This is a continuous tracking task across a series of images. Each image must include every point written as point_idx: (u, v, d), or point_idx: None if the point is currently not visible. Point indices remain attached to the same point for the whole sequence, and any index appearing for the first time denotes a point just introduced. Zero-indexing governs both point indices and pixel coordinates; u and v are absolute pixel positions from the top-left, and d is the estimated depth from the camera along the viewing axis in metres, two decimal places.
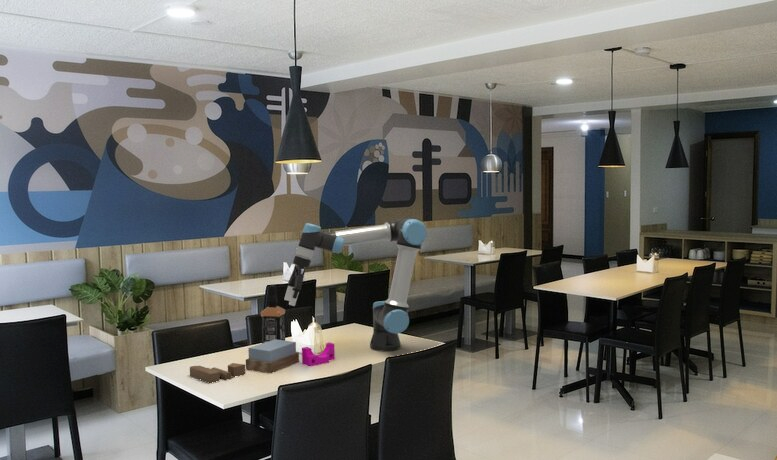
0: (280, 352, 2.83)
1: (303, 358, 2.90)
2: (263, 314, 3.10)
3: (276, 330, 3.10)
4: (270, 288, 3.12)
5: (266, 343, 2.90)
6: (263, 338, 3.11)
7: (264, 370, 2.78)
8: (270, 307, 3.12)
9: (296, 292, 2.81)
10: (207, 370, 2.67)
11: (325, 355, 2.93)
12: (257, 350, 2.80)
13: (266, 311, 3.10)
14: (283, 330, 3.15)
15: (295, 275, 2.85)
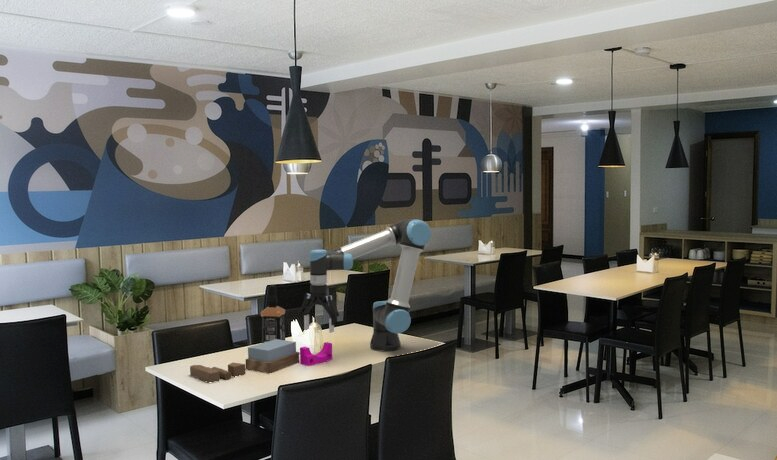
0: (279, 351, 2.83)
1: (301, 357, 2.90)
2: (263, 314, 3.10)
3: (276, 330, 3.10)
4: (270, 288, 3.12)
5: (266, 343, 2.91)
6: (263, 338, 3.11)
7: (264, 370, 2.77)
8: (270, 307, 3.12)
9: (334, 319, 2.87)
10: (207, 369, 2.68)
11: (323, 355, 2.93)
12: (256, 349, 2.81)
13: (266, 311, 3.10)
14: (283, 330, 3.15)
15: (323, 304, 2.88)
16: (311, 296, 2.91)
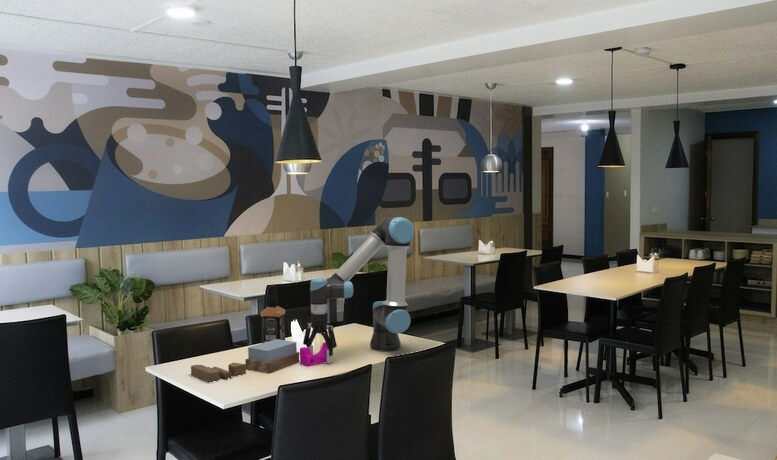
0: (279, 352, 2.83)
1: (301, 358, 2.89)
2: (263, 314, 3.10)
3: (276, 330, 3.10)
4: (270, 288, 3.12)
5: (267, 343, 2.91)
6: (263, 338, 3.11)
7: (263, 370, 2.77)
8: (270, 307, 3.12)
9: (332, 350, 2.89)
10: (207, 369, 2.68)
11: (323, 355, 2.93)
12: (256, 350, 2.81)
13: (266, 311, 3.10)
14: (283, 330, 3.15)
15: (323, 333, 2.89)
16: (312, 325, 2.92)
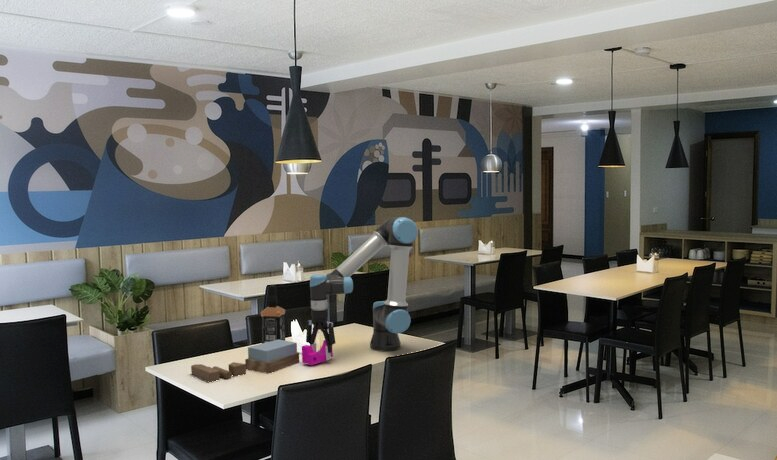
0: (278, 352, 2.82)
1: (303, 356, 2.88)
2: (263, 314, 3.10)
3: (276, 330, 3.10)
4: (270, 288, 3.12)
5: (267, 343, 2.91)
6: (263, 338, 3.11)
7: (263, 370, 2.78)
8: (270, 307, 3.12)
9: (330, 346, 2.90)
10: (207, 369, 2.69)
11: (324, 352, 2.92)
12: (255, 350, 2.81)
13: (266, 311, 3.10)
14: (283, 330, 3.15)
15: (323, 330, 2.89)
16: (312, 321, 2.92)
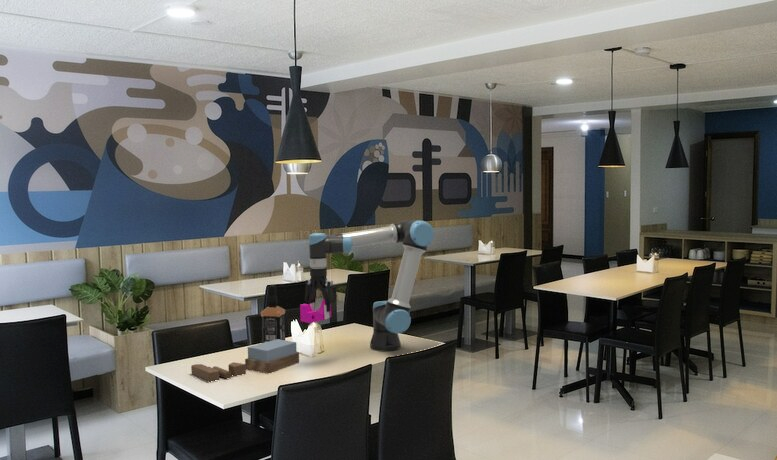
0: (278, 352, 2.82)
1: (301, 315, 2.86)
2: (263, 314, 3.10)
3: (276, 330, 3.10)
4: (270, 288, 3.12)
5: (267, 343, 2.91)
6: (263, 338, 3.11)
7: (263, 370, 2.78)
8: (270, 307, 3.12)
9: (329, 305, 2.88)
10: (207, 369, 2.69)
11: (323, 312, 2.91)
12: (255, 349, 2.81)
13: (266, 311, 3.10)
14: (283, 330, 3.15)
15: (322, 288, 2.88)
16: (311, 280, 2.91)
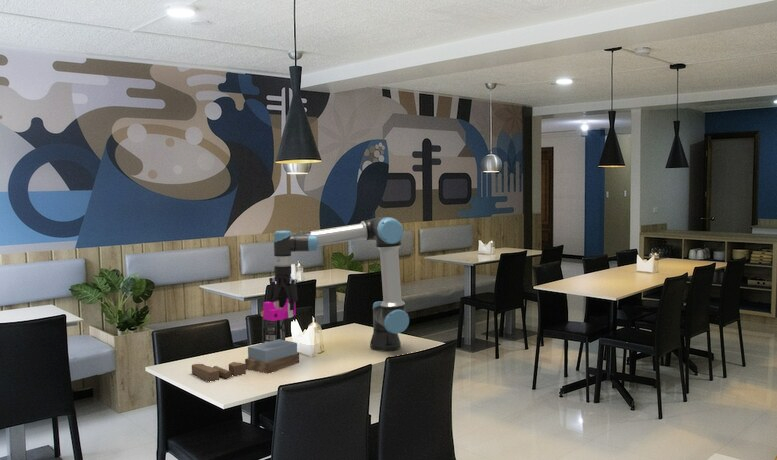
0: (278, 352, 2.82)
1: (264, 312, 2.82)
2: None
3: (276, 330, 3.10)
4: None
5: (268, 343, 2.91)
6: (263, 338, 3.11)
7: (263, 370, 2.78)
8: None
9: (293, 304, 2.85)
10: (207, 368, 2.69)
11: (287, 310, 2.87)
12: (255, 349, 2.81)
13: None
14: (283, 330, 3.15)
15: (285, 286, 2.84)
16: (275, 278, 2.87)
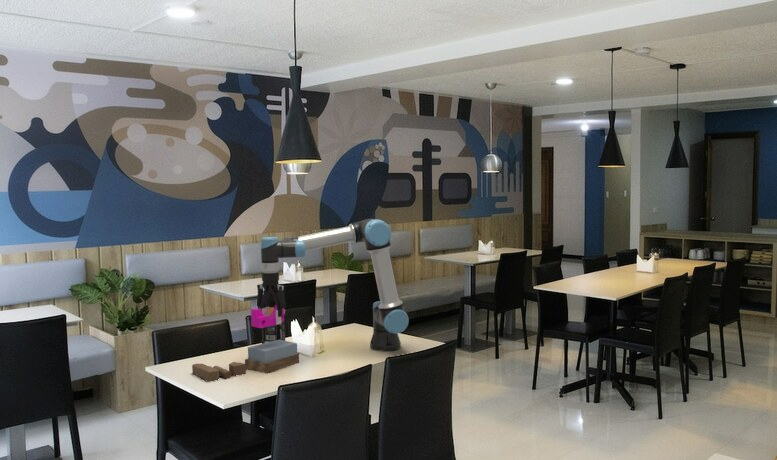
0: (278, 353, 2.82)
1: (252, 319, 2.82)
2: None
3: (276, 330, 3.10)
4: None
5: (268, 343, 2.91)
6: (263, 338, 3.11)
7: (262, 370, 2.78)
8: (270, 307, 3.12)
9: (281, 310, 2.84)
10: (207, 368, 2.69)
11: (275, 316, 2.86)
12: (255, 350, 2.81)
13: None
14: (283, 330, 3.15)
15: (273, 293, 2.83)
16: (263, 284, 2.86)
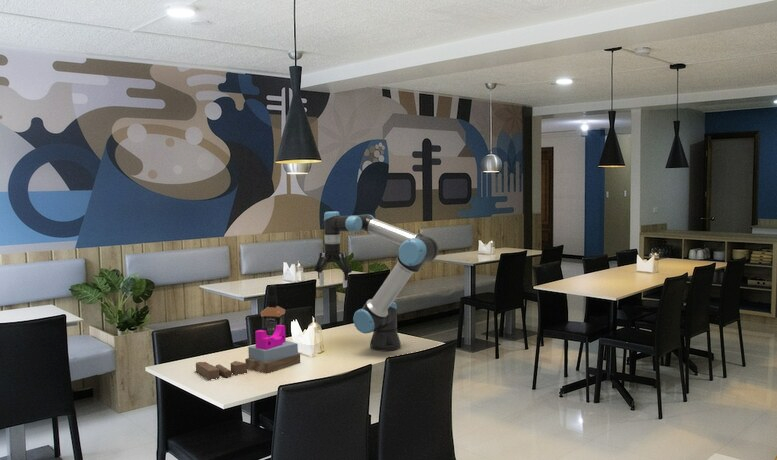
0: (277, 352, 2.82)
1: (257, 341, 2.82)
2: (263, 314, 3.10)
3: None
4: (270, 288, 3.12)
5: None
6: None
7: (262, 370, 2.78)
8: (270, 307, 3.12)
9: (347, 274, 3.11)
10: (208, 367, 2.72)
11: (278, 337, 2.88)
12: (255, 349, 2.81)
13: (266, 311, 3.10)
14: None
15: (337, 261, 3.11)
16: (325, 254, 3.15)
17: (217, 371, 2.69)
